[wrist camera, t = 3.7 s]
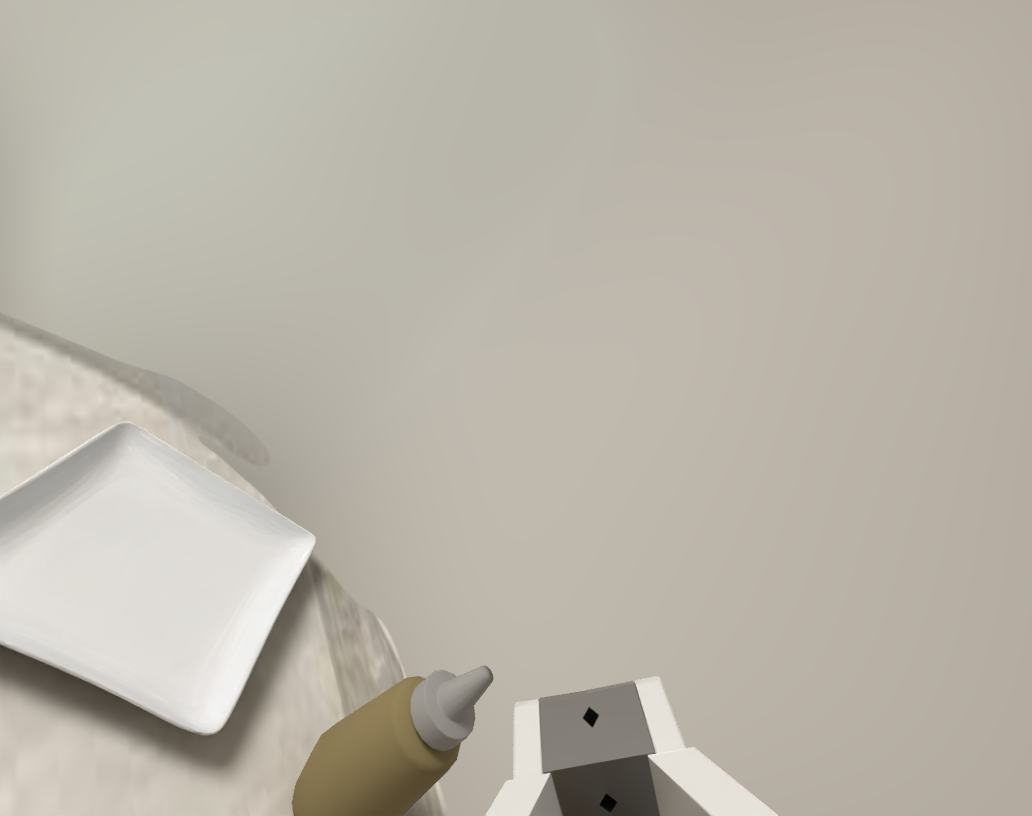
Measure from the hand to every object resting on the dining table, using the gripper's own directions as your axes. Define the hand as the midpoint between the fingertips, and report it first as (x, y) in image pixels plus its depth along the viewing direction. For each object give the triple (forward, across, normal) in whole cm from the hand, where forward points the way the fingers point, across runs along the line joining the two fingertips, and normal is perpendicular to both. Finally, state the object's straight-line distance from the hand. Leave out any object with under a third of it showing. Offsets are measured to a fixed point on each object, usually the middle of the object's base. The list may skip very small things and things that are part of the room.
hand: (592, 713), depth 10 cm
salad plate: (+27, +34, +7) cm, 44 cm away
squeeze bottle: (+21, +22, +25) cm, 40 cm away
